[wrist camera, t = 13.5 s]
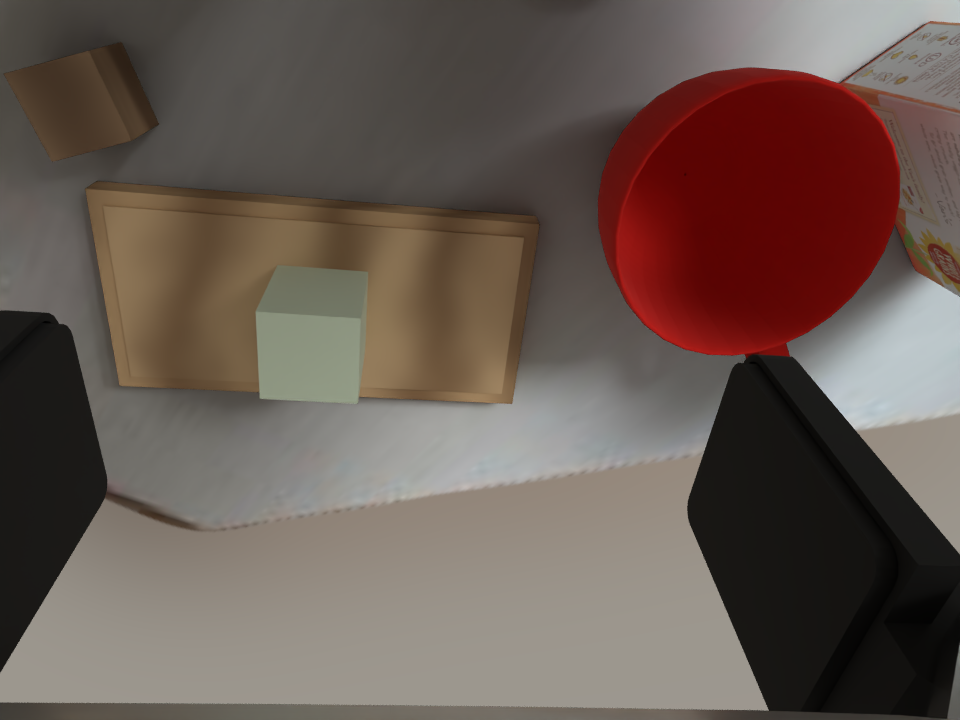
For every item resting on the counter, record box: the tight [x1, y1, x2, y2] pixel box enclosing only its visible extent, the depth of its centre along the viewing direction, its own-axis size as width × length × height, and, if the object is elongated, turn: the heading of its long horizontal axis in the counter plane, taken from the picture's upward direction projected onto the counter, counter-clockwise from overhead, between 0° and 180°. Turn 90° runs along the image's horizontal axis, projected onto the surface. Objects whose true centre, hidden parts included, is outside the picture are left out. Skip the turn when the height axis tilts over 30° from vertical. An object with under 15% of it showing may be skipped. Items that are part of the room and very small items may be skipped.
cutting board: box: [85, 181, 540, 404], centre depth 41 cm, size 24×12×2 cm, turn 84°
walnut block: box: [4, 42, 159, 162], centre depth 33 cm, size 4×4×4 cm
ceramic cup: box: [598, 68, 900, 358], centre depth 36 cm, size 13×17×10 cm
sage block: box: [256, 265, 368, 404], centre depth 37 cm, size 5×5×6 cm
